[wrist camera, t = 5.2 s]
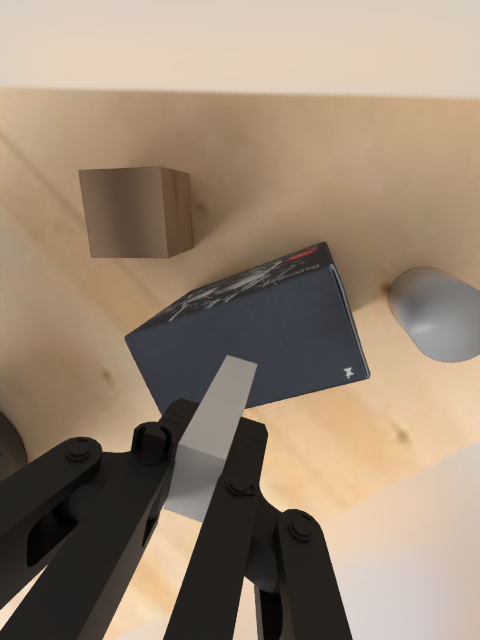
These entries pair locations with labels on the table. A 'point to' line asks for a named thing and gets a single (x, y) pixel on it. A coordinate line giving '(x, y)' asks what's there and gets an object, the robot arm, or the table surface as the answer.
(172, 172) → the walnut cube
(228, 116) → the table surface
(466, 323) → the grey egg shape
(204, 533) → the robot arm
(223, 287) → the small box
